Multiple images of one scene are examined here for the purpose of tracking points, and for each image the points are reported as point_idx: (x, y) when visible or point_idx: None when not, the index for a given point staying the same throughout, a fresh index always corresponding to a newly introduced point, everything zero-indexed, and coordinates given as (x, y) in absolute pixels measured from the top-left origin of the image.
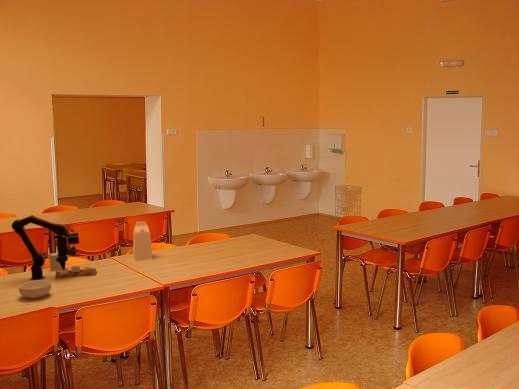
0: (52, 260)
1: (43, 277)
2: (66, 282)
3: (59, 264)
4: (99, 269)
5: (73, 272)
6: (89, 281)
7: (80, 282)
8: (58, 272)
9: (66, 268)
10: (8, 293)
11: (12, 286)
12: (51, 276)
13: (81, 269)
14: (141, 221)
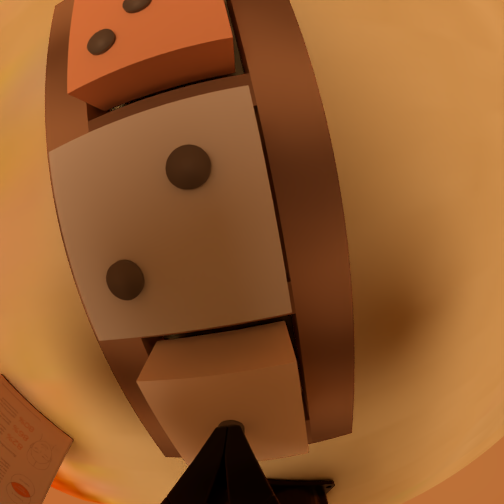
0: (41, 501)
1: (281, 482)
2: (491, 248)
3: (16, 436)
4: (29, 29)
5: None
6: (472, 37)
7: (501, 111)
8: None
9: (157, 405)
10: (484, 448)
11: (399, 497)
12: None
13: None
14: None
